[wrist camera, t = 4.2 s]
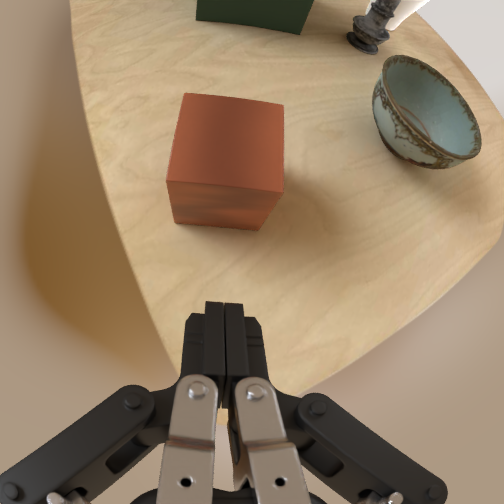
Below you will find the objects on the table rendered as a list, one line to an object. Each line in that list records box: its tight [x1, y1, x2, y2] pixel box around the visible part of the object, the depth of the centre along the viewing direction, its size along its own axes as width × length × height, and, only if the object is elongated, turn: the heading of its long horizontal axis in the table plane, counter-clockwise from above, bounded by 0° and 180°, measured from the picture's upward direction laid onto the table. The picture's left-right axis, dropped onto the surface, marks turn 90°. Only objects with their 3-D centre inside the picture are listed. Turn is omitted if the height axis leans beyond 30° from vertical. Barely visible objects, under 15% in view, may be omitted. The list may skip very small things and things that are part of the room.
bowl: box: [372, 55, 481, 169], centre depth 28 cm, size 14×13×8 cm
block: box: [166, 93, 284, 231], centre depth 22 cm, size 7×7×8 cm
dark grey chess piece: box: [346, 0, 401, 54], centre depth 29 cm, size 6×6×12 cm
